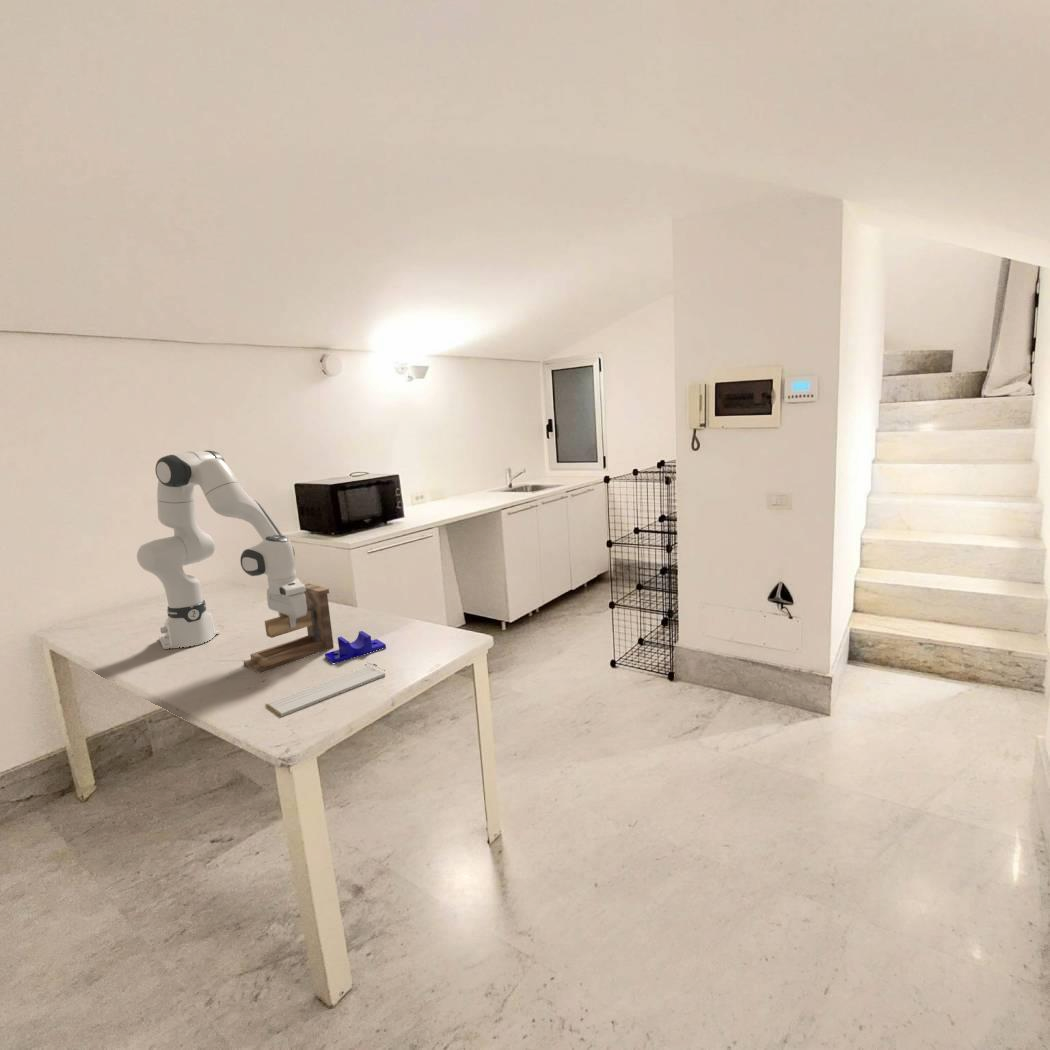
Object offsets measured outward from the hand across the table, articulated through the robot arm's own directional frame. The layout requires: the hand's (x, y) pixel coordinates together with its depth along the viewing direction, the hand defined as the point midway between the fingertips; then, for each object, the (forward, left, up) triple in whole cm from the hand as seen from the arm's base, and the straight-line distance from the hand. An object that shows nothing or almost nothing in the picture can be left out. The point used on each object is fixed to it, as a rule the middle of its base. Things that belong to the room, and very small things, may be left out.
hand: (289, 625), depth 196 cm
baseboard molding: (+34, -7, -11) cm, 37 cm away
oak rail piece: (0, 0, -2) cm, 2 cm away
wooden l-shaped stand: (0, -1, -10) cm, 10 cm away
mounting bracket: (+17, +13, -11) cm, 24 cm away
